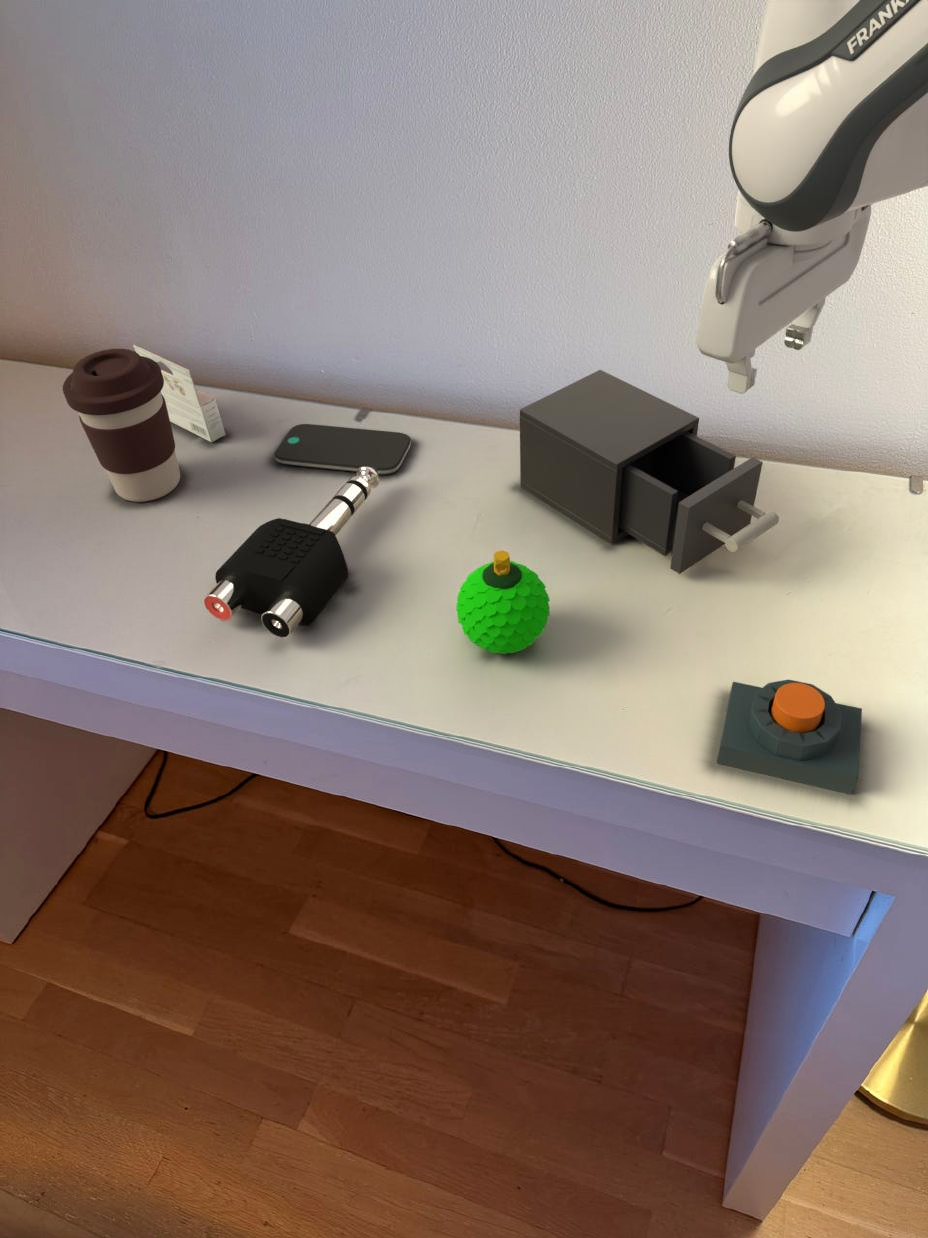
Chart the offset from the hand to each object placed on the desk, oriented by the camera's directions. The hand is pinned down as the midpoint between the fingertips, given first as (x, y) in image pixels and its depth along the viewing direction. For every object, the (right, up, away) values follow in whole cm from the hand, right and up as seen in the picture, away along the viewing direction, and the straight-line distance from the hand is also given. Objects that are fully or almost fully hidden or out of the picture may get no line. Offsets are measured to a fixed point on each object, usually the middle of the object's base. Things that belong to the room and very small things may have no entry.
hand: (769, 366), depth 81 cm
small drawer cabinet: (-12, -8, +18) cm, 23 cm away
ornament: (-23, -24, +3) cm, 33 cm away
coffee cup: (-62, -7, +24) cm, 67 cm away
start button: (-1, -29, -10) cm, 31 cm away
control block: (-1, -32, -7) cm, 33 cm away
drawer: (-5, -13, +11) cm, 18 cm away
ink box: (-60, +2, +33) cm, 68 cm away
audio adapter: (-41, -16, +13) cm, 46 cm away
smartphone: (-41, -3, +26) cm, 49 cm away
